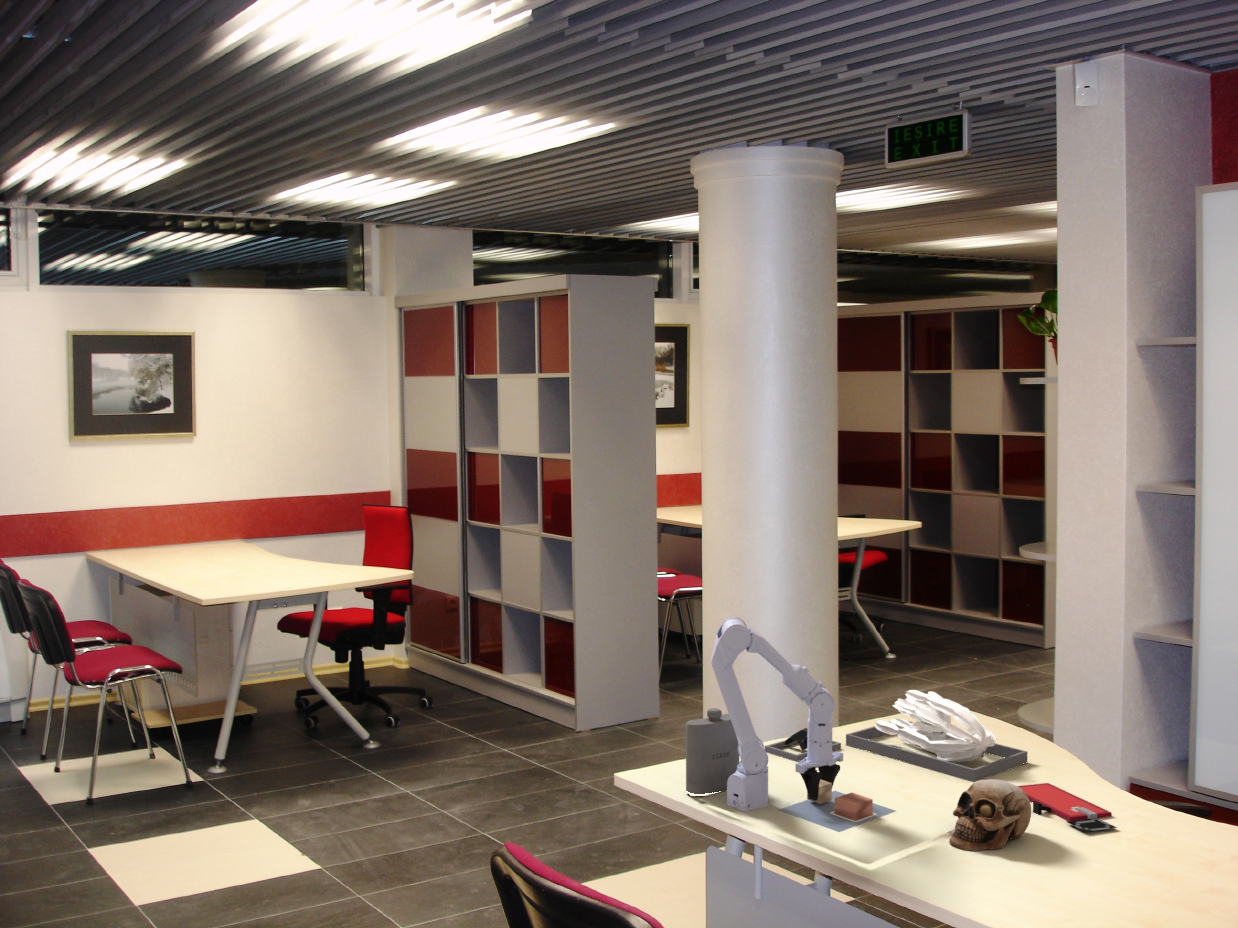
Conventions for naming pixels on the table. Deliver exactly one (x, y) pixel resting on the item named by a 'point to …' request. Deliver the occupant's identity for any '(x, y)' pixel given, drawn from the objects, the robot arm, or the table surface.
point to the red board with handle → (1067, 806)
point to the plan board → (830, 813)
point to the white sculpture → (939, 727)
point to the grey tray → (1010, 761)
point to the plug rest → (776, 751)
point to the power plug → (799, 738)
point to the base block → (853, 806)
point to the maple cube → (823, 792)
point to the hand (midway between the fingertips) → (819, 796)
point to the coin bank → (990, 815)
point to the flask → (710, 752)
